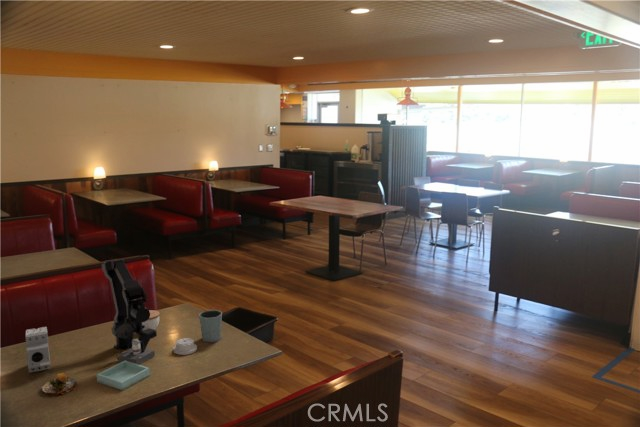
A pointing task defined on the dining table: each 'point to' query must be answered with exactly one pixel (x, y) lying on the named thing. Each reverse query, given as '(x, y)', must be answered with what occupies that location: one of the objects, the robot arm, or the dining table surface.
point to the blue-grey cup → (211, 325)
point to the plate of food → (59, 385)
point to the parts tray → (123, 375)
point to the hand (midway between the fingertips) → (136, 350)
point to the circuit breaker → (37, 349)
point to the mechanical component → (185, 346)
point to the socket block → (136, 359)
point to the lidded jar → (152, 320)
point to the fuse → (136, 347)
